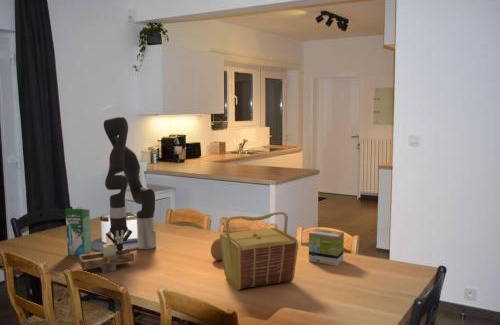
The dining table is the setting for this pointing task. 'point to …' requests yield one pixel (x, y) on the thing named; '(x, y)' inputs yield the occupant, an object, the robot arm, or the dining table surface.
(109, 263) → the beam
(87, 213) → the milk carton
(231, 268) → the picnic basket
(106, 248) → the block
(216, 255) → the egg
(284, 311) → the dining table surface
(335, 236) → the tea box
